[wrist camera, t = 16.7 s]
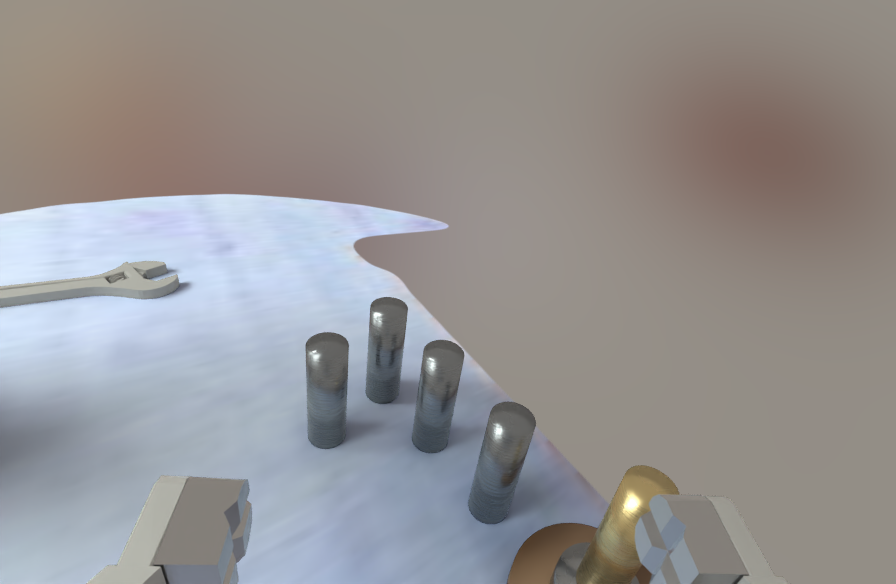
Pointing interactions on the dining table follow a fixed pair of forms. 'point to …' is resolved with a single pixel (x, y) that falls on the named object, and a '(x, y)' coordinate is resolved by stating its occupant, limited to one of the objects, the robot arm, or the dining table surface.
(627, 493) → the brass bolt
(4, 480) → the dining table surface
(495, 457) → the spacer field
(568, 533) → the walnut plate
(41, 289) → the adjustable wrench
